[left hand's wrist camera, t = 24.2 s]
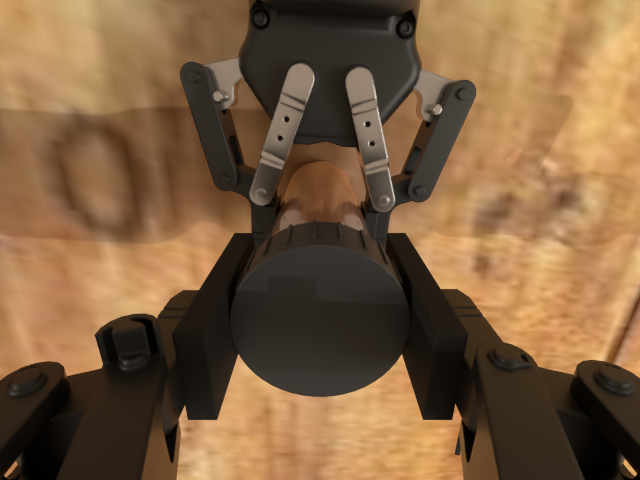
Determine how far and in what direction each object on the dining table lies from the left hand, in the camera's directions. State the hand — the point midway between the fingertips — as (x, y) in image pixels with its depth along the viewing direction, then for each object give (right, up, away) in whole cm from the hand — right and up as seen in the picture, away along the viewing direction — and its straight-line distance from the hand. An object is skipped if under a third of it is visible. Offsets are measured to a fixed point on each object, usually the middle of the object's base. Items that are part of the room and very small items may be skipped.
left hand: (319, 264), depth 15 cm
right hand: (0, 0, +6) cm, 6 cm away
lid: (0, -2, -4) cm, 4 cm away
